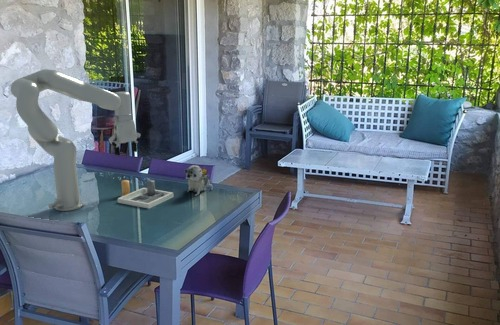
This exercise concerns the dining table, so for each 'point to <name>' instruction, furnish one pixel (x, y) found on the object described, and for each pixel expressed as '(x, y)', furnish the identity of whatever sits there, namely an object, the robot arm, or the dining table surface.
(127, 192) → the jaw orange
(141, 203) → the tray
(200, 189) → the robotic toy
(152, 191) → the jaw grey
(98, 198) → the dining table surface
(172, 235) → the dining table surface
